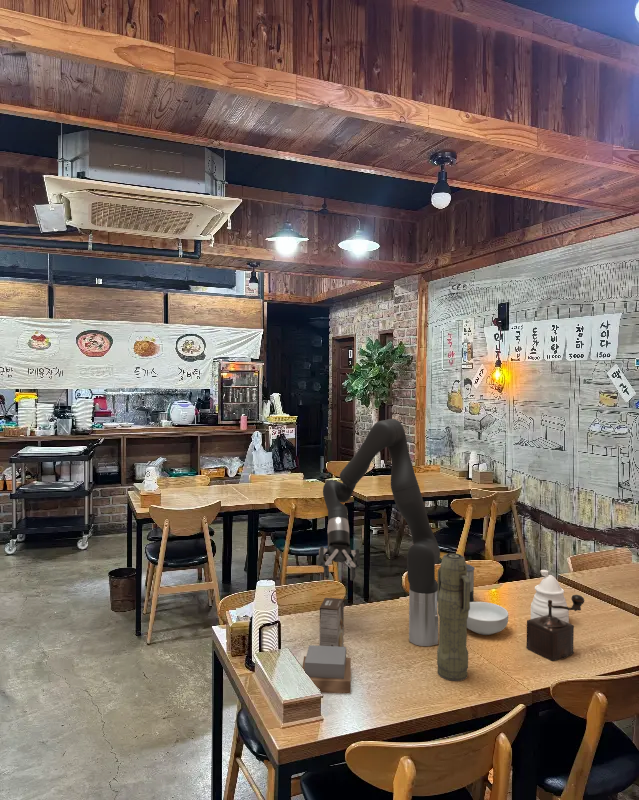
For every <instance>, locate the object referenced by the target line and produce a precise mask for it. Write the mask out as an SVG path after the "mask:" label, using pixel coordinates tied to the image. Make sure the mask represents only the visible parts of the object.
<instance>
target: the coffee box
mask: <svg viewBox="0 0 639 800" xmlns="http://www.w3.org/2000/svg"><path fill="white" fill-rule="evenodd" d="M344 600H345V599H344V598H339V597H338V598H336V597H325V598H324V599H323V601H322V603H321V605H320V606H319V646H337V647H345V646H344V645H345V642H344V640H345V639H344V635H345V634H344V630H345V629H344V627H345V626H344V625H345V620H344V617H345V615H344V612H345V611H344V610H345V608H344V607H345V605H344V604H345V603H344V602H345V601H344Z"/></svg>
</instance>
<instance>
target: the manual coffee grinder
mask: <svg viewBox="0 0 639 800" xmlns="http://www.w3.org/2000/svg"><path fill="white" fill-rule="evenodd" d="M571 601H572V606H571V607H569V606H568V607H565V606H553V605H552V600H548V603H549V604H548V607H549V615H545V616H541V617H538V618H534V619H531V618H530V619H527V620H526V647H525V648H526V650H528V651H530V652H532V653H534V654H536V655H538V656H541V657H542V658H545V659H547V660H548V661H551V662H555V661H558V660H562V659H565V658H567V657H569V656H570V657H571V656H572V655H573V654H574V653H575V651H574V640H575V639H574V633H575V631H574V630H575V629H574V628H575V626H574V624H572V623H570V622H569V623H567V622H565V621H562V620H560V619H558V618H556V617H554V616H552V608H560V609H567V610H569V611H574V612H577V611H582V608H581V607H582V605H583V604H585V598H584V597H583V596H582V595H579V594H572V596H571Z"/></svg>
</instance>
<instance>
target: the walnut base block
mask: <svg viewBox="0 0 639 800" xmlns="http://www.w3.org/2000/svg"><path fill="white" fill-rule="evenodd" d="M305 659H306V655H305V656H303V659H302V660H303V661H302V664H301V665H302V666H301V669H302V668H303V669H304V671H305ZM351 659H352V657H346V664H345V674H344V679H337V678H317V677H310V678H311V680H312V681H313V682H314V684H315V685H316V686H317V687H318V688H319V689H320V691H321V692H320V693H323V694H324V693H328V694H351V692H352V690H351V689H352V684H351V683H352V680H351V678H352V676H351V675H352V674H351V673H352V671H351V670H352V666H351V665H352V662H351Z"/></svg>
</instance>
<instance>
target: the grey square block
mask: <svg viewBox="0 0 639 800" xmlns="http://www.w3.org/2000/svg"><path fill="white" fill-rule="evenodd" d="M305 656H306V659H305V673H306V674H307V675H308V676H309V677H317V678H337V679H344V674H345V664H346V658H347V646H344V647H337V646H320V645H314V644H313V645H312V644H308V649H307V652H306V655H305Z"/></svg>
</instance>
